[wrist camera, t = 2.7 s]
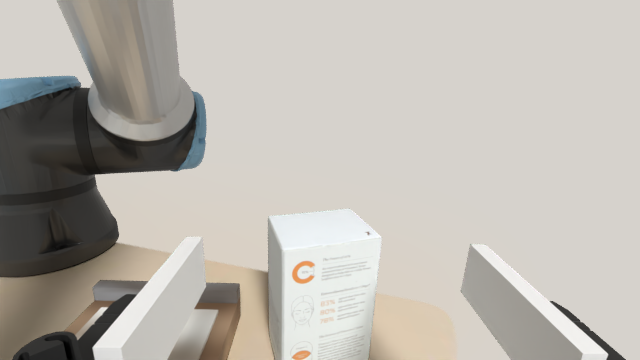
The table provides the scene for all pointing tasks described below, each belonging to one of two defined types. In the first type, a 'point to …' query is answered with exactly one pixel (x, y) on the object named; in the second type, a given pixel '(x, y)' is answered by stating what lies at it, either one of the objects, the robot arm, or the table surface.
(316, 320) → the small box
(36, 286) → the table surface
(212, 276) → the table surface
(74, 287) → the table surface
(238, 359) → the table surface
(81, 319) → the tray
